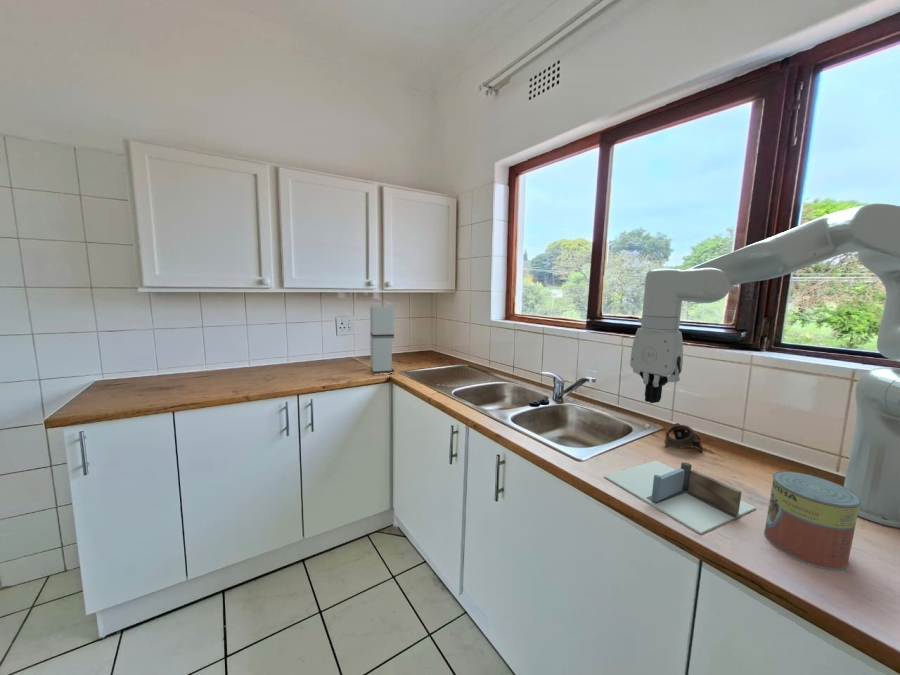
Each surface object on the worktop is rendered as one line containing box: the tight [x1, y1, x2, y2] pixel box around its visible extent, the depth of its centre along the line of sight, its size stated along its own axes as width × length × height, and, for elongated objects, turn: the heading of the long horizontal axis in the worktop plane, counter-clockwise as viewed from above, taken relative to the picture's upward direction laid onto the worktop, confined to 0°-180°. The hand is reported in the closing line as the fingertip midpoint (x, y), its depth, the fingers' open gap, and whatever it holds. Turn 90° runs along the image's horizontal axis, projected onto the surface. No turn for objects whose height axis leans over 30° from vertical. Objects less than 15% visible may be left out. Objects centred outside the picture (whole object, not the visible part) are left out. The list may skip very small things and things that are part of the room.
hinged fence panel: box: [651, 467, 685, 502], centre depth 81 cm, size 10×1×6 cm, turn 119°
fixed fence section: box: [680, 461, 743, 515], centre depth 80 cm, size 12×2×7 cm, turn 26°
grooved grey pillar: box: [369, 305, 395, 375], centre depth 190 cm, size 11×11×35 cm
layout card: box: [603, 460, 757, 535], centre depth 84 cm, size 23×20×1 cm
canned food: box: [763, 470, 861, 571], centre depth 66 cm, size 11×11×12 cm
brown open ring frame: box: [664, 422, 704, 453], centre depth 108 cm, size 12×10×8 cm
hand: (652, 401), depth 85 cm, fingers closed
